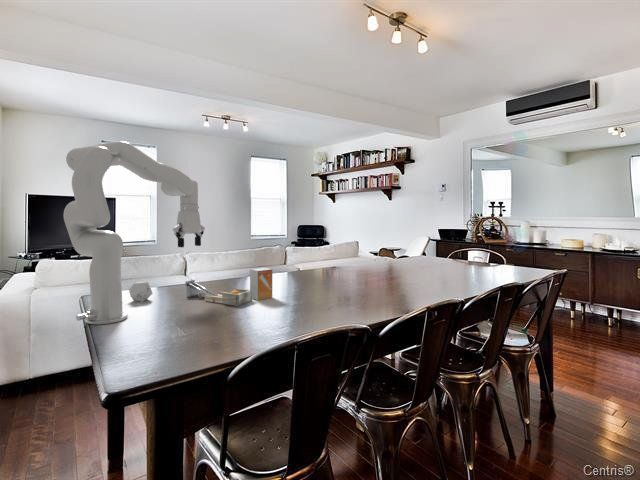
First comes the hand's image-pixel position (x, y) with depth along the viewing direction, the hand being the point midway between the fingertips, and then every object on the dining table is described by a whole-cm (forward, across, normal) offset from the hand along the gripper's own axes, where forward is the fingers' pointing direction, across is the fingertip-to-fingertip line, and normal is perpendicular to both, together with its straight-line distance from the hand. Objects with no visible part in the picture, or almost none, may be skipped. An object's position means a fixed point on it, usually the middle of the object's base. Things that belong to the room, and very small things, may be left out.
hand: (189, 246), depth 161 cm
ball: (+20, -2, +24) cm, 31 cm away
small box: (+23, -13, +30) cm, 40 cm away
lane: (+23, -2, +20) cm, 31 cm away
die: (+23, +15, -13) cm, 31 cm away
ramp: (+23, -2, +6) cm, 24 cm away
